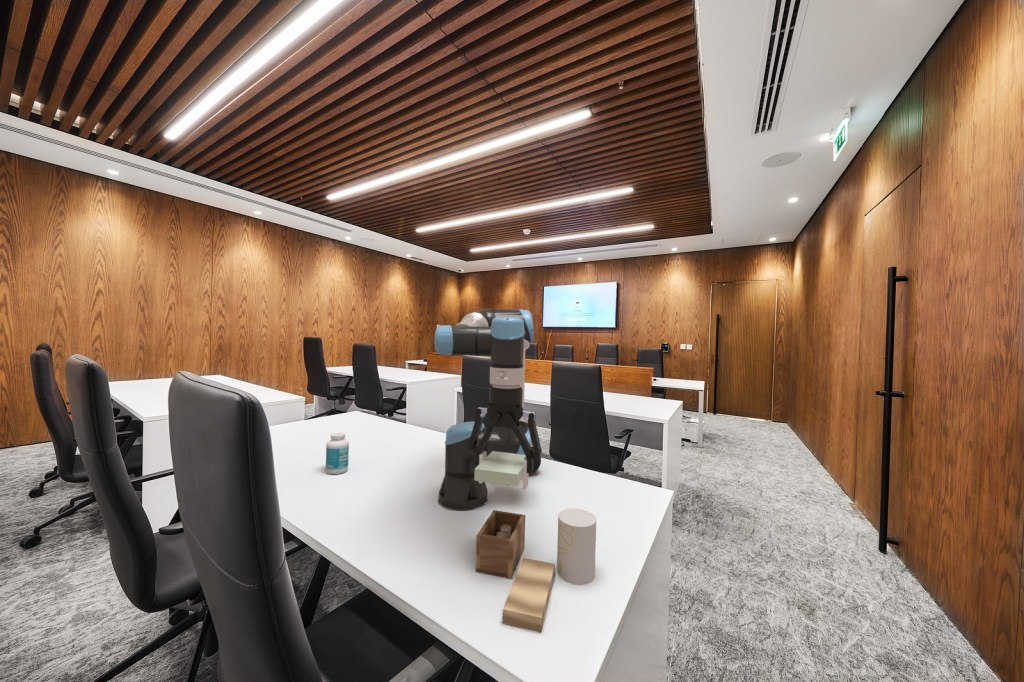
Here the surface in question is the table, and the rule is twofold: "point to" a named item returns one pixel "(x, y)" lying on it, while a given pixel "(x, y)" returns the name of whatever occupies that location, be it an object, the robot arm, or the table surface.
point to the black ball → (536, 463)
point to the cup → (576, 546)
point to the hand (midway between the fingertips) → (503, 483)
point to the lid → (500, 469)
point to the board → (529, 595)
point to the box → (500, 544)
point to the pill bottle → (337, 454)
